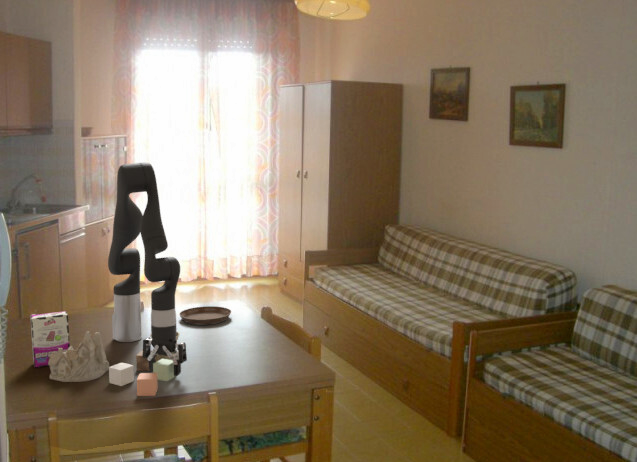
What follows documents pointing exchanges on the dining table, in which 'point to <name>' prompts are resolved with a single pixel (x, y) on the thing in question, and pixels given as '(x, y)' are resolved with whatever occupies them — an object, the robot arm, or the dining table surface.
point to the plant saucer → (205, 315)
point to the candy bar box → (48, 336)
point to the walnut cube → (142, 362)
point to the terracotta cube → (147, 384)
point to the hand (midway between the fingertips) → (164, 373)
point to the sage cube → (164, 369)
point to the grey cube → (121, 374)
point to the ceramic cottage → (80, 361)
